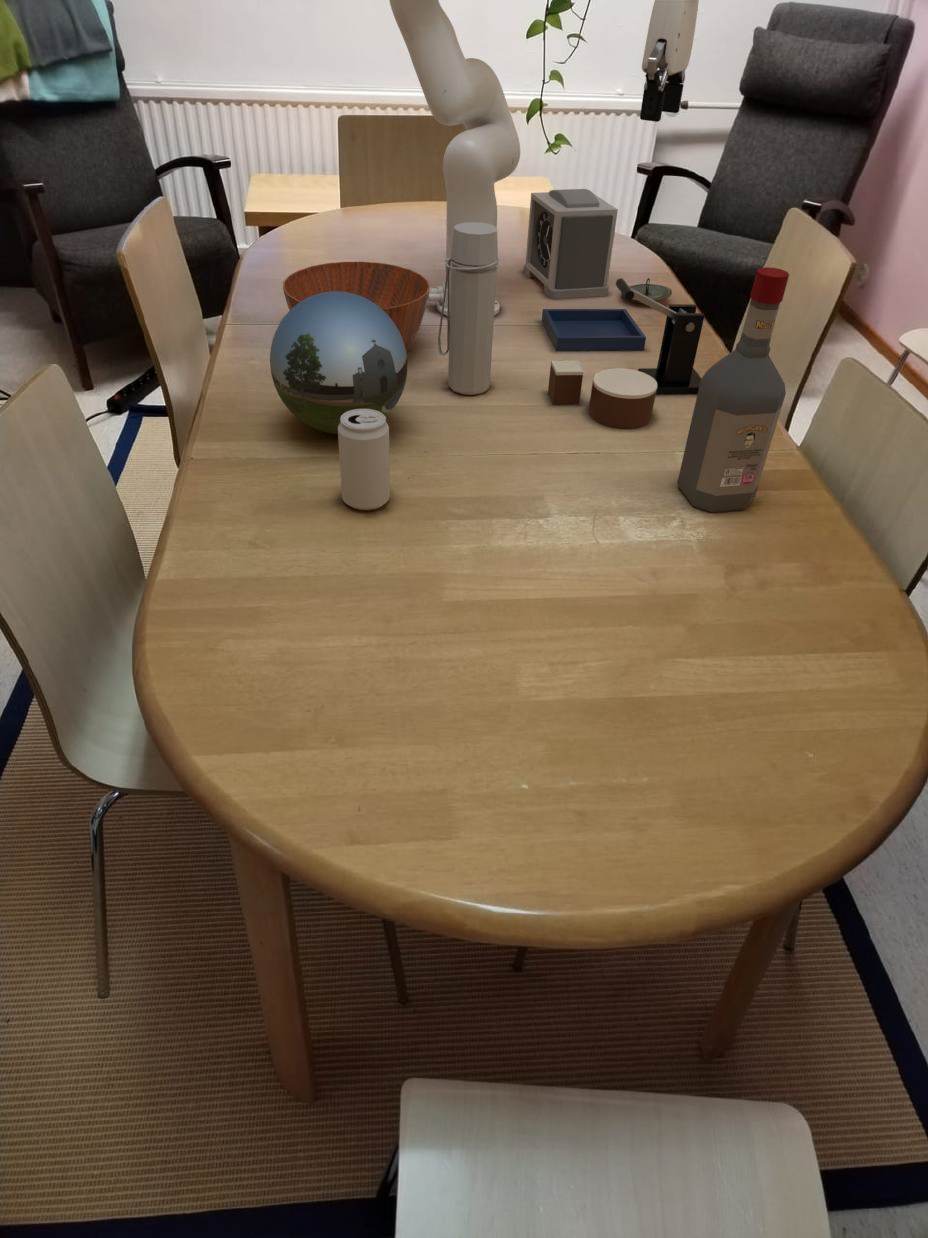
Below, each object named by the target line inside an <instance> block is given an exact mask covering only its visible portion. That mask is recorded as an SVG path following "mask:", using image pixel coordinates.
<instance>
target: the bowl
mask: <svg viewBox="0 0 928 1238" xmlns="http://www.w3.org/2000/svg"><path fill="white" fill-rule="evenodd" d="M430 287H431V286H430V283H429V279H426V278H425V276H423V275H422V274H420V273H418V272H416V271H414V270H412V269H410V268H406V267H402V266H399V265H395V264H388V263H383V262H374V261H337V262H325V263H321V264H317V265H310V266H308V267H305V268H302V269H299V270H296V271H295V272H293V273H291V274H289V275H287V277H286V278H284V280H283V282H282V290H283V295H284V297H285V298H284V299H285V301H286V305H287V307H288V312H289V311H290V310H291V309H292V308H293V307H294V306H295V305H297V304H298V303H300V302H301V301H303V300H304V299H306V298H308V297H311V296H313V295H316V294H319V293H324V292H332V291H340V292H348V293H352V294H356V295H359V296H362V297H364V298H366V299H368V300H370V301H371V302H373V303H375V304H376V305H377V306H379V307H380V308H381V309H382V310H383V311H384V312H385V313H386V314H387V315H388V316H389V317H390V318H391V319H392V321H393V322H394V324H395V325H396V327H397V328H398V330H399V332H400V334H401V337H402V339H403V342H404V345H405V349H406V352H407V351H408V350H409V349H410V348H411V346H412V345H413V343H414V342H415V339H416V338H417V337H416V336H417V334H418V332H419V330H420V327H421V324H422V321H423V319H424V315H425V312H426V308H427V305H428V301H429V298H428V295H429V290H430Z"/></svg>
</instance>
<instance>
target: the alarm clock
mask: <svg viewBox="0 0 928 1238" xmlns="http://www.w3.org/2000/svg"><path fill="white" fill-rule="evenodd" d="M529 204H530V206H529V216H528V226H527V227H528V228H527V229H528V230H527V239H526V241H527V242H526V253H525V264H524V266H523V274H525V275H526V277H528V278H529V279H530V278H537V279H538V280H539V281H540V282H541V283H542V284H543V293H544V294H545V295H546V296H547V297H548V298H550V299H552V300H562V299H576V298H592V297H594V298H595V297H606V296H608V293H609V285H608V281H609V274H610V267H611V261H612V255H613V246H614V239H615V234H616V232H615V231H616V226H617V218H618V211H619V209H618V208H617V207H615V206H613V205H612V204H610V203H609V202H608V201H606V200H604V199H603V198H602V197H600V196H598V195H596V194H595V193H594V192H593V191H591V190H590V189H588V188H572V189H571V188H570V189H568V188H567V189H551V190H549V191H544V192H543V191H541V192H531V193H530V203H529Z"/></svg>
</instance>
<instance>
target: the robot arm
mask: <svg viewBox="0 0 928 1238" xmlns="http://www.w3.org/2000/svg"><path fill="white" fill-rule="evenodd" d="M388 2H389V5H390V8H391V11H392V14H393V18H394V20H395V22H396V25H397V27H398V29H399V31H400V34H401V36H402V39H403V41H404V43H405V46H406V48H407V51H408V53H409V54H408V55H409V56H410V60H411V63H412V66H413V69H414V71H415V73H416V77H417V79H418V81H419V85H420V87H421V90H422V92H423V95H424V98H425V101H426V104H427V106H428V108H429V111H430V113H431V115H432V116H433V119H435V121H436V122H438V123H439V124H441V125H443V126H446V127H448V126H449V127H452V126H458V125H462V124H463V127H464V129H465V130H464V131H462V132H459V133H458V134H457V135H455V136H454V137H453V138H452V139H451V140H450V142H449V143H448V145H447V146H446V149H445V151H444V155H443V160H442V161H443V162H442V170H443V171H442V172H443V179H444V186H445V198H446V222H445V223H446V236H445V260H446V259H451V252H452V243H453V235H454V227H455V225H457V224H460V223H467V222H479V223H486V224H490V225H493V226H495V227H496V228H497V229H498V204H497V197H496V191H495V183H498V182H499V181H502V180H504V179H506V178H508V177H509V176H511V174H513V173H514V171H516V168H517V167H518V165H519V162H520V159H521V143H520V138H519V135H518V131H517V129H516V126H515V122H514V119H513V116H512V114H511V111H510V108H509V105H508V101H507V100H506V96H505V93H504V90H503V87H502V85H501V82H500V80H499V78H498V76H497V74H496V72H495V71H494V69H492V67H491V66H490V65H489V64H488V63H487V62H485V61H484V60H482V59H479V58H474V57H468V58H466V57H465V56H464V53H463V51H462V48H461V46H460V44H459V41H458V40H459V39H458V38H457V34H456V30H455V28H454V26H453V24H452V22H451V20H450V19H449V16H448V15H447V13H446V12H445V11H444V9H443V7H442V5H441V4H440V0H389V1H388ZM699 3H700V0H654V2H653V5H652V10H651V15H650V19H649V24H648V29H647V34H646V40H645V46H644V51H643V57H642V62H641V70H642V72H643V73H644V74H645V76H644V77H645V81H644V84H643V93H642V99H641V100H642V101H641V106H640V114H639V118H640V120H641V121H649V122H653V123H658V122H660V121H661V120H662V113H663V112H664V113H671V114H678V113H679V112H680V108H681V103H682V97H683V90H684V85H685V84H684V83H685V80H686V70H687V68H688V66H689V64H690V59H691V55H692V49H693V44H694V38H695V32H696V25H697V17H698V11H699ZM451 266H452V263H451ZM446 274H447V270H446V269H445V277H444V279H445V280H444V281H442V282H441V285H438V286H437V287H431V286H430V290H429V295H428V302H436V301H437V302H436V309H437V311H438V312H439V313H440V314H441V312H442V304H443V297H444V289H445V282H446ZM447 291H448V281H447V288H446V296H445V304H444V312H443V316H446V317H447ZM449 293H450V295H451V269H450V270H449ZM500 311H501V304H500V302H499V301H498V300H497V299H495V309H494V317H495V316H497V315H498V314H499V313H500Z"/></svg>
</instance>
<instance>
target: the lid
mask: <svg viewBox="0 0 928 1238" xmlns="http://www.w3.org/2000/svg"><path fill="white" fill-rule="evenodd" d="M650 281H651V279H650V278H649V277H648V278H647V279H646V281H645V283H639V284H634V285H629V287H630V288H632V289H634V290H636V291H638V292H640V293H641V294H643V295H645V296H647V297H649V298H651V299H653V300H655V301H656V302H658V303H659V302H662V301H664V300H667V299H669V298H670V297H671V296H672V294H673V291H672V289H671V288H670V287H667V286H665V285H660V284H654V283H650ZM620 295H621V297H622V298H624V299H626V298H625V297H624V295H623V294H622V293H621V292H620ZM626 300H627V299H626ZM628 302H632V303H638V304H643V303H642V302H640V301H638V300H636V299H634V298H633V299H631V300H628Z"/></svg>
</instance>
